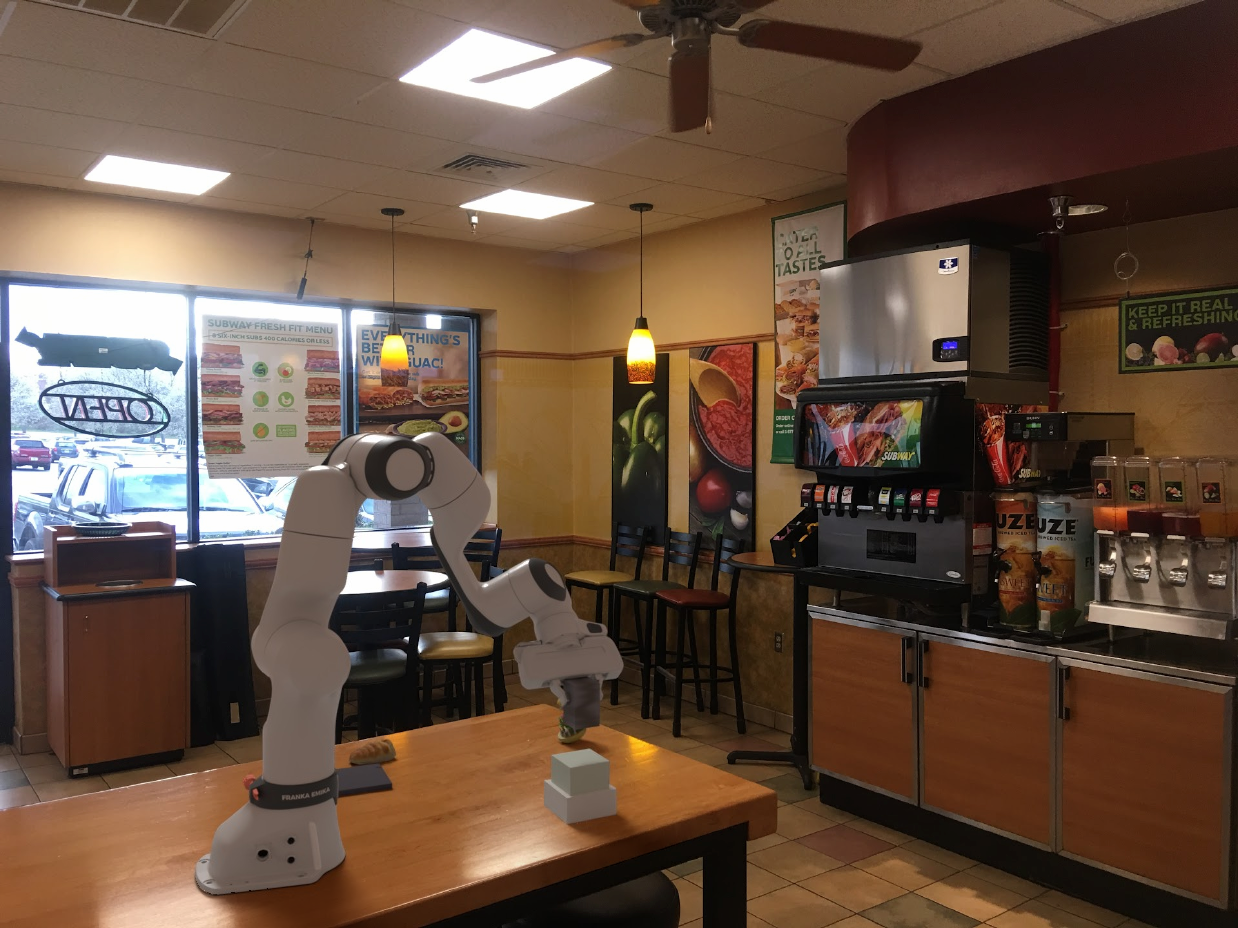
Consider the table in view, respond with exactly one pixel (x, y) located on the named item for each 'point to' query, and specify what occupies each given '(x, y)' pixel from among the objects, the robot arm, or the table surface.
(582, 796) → the tower base
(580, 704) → the charcoal block
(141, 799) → the table surface
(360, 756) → the pastry
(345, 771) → the notebook
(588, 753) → the tower top
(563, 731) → the hamburger
